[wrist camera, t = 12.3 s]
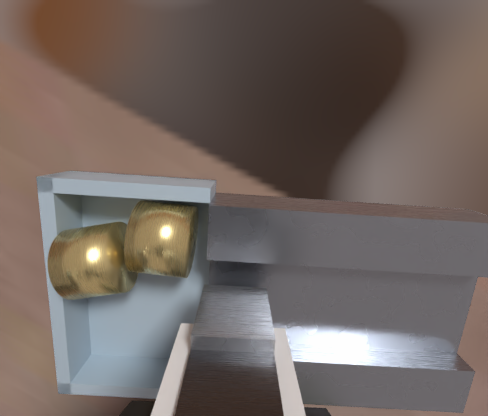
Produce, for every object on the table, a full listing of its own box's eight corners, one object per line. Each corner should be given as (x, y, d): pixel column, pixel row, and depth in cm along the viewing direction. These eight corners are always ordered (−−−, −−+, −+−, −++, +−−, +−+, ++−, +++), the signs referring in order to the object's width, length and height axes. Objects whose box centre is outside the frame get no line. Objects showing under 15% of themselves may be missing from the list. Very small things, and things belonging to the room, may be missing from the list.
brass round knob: (184, 293, 16) (129, 287, 16) (197, 243, 19) (152, 238, 19) (183, 239, 13) (119, 231, 13) (199, 192, 17) (147, 186, 17)
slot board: (208, 355, 21) (201, 398, 17) (215, 192, 18) (208, 205, 15) (427, 368, 21) (462, 412, 18) (467, 209, 18) (518, 225, 15)
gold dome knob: (100, 283, 14) (40, 291, 14) (137, 298, 17) (88, 305, 17) (109, 209, 16) (56, 217, 16) (140, 237, 19) (97, 243, 19)
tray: (84, 358, 21) (58, 393, 18) (70, 170, 18) (36, 176, 15) (208, 365, 21) (202, 401, 18) (216, 180, 18) (210, 188, 15)
